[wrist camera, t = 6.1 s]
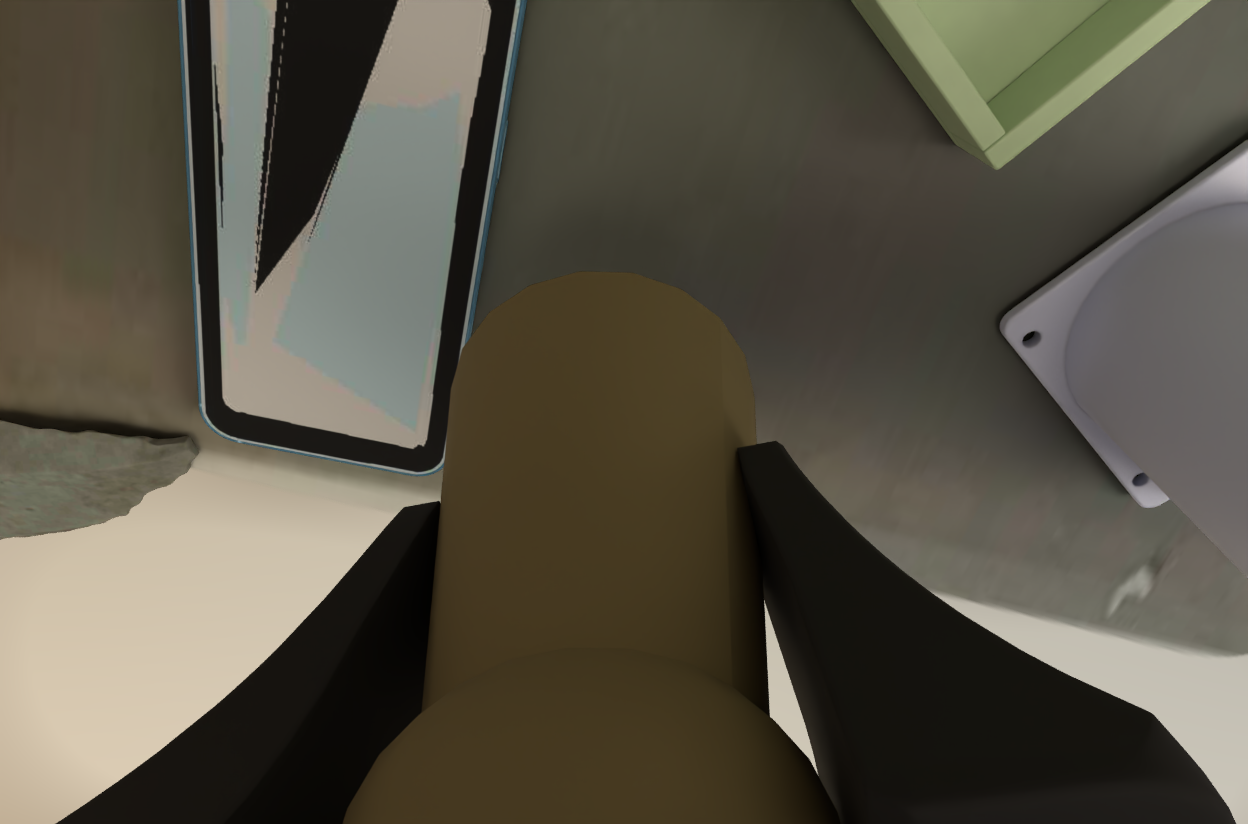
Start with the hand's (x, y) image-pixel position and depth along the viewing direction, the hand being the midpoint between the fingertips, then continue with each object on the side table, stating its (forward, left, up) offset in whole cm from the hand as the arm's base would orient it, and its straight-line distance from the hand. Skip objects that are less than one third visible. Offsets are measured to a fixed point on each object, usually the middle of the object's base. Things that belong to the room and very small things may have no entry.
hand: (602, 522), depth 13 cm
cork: (0, 0, -4) cm, 4 cm away
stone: (+10, +16, -10) cm, 21 cm away
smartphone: (+6, +4, -10) cm, 13 cm away
